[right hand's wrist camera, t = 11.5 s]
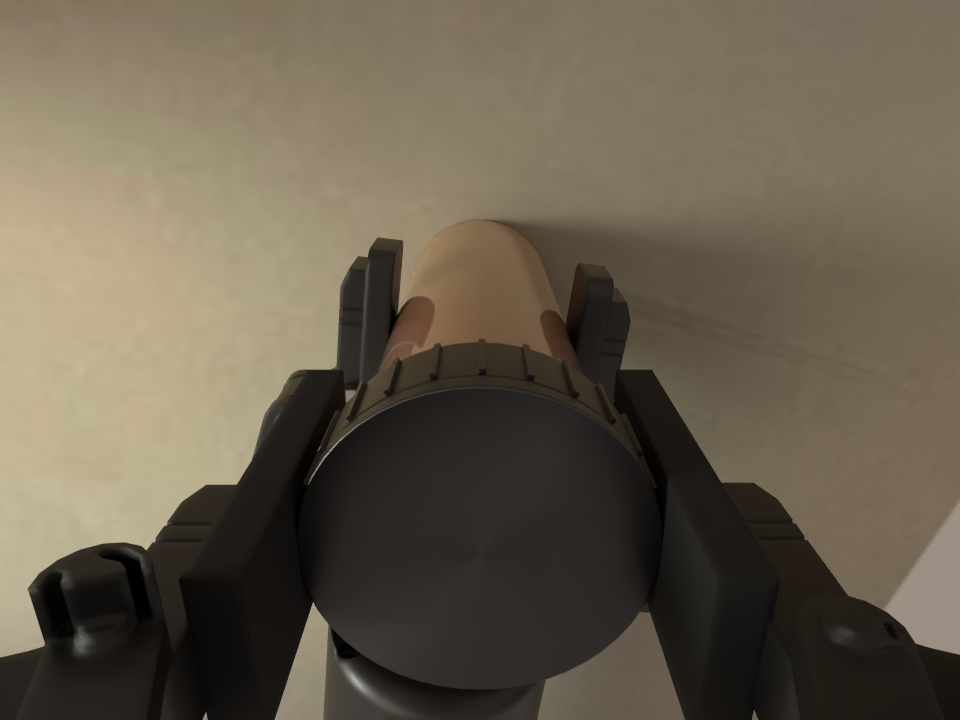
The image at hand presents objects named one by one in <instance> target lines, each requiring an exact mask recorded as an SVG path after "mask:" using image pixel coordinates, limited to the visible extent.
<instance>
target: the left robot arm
mask: <svg viewBox="0 0 960 720" xmlns="http://www.w3.org/2000/svg"><path fill="white" fill-rule="evenodd" d="M402 255H403V241H402V240H394V239H386V238H377V239H376V240H375V242H374V243H373V245H372V246H371V248H370V250H369V254H368V257H360V256H358V257H357V259H356V260H355V262H354V263H353V264H352V266H351V267H350V268H349V270H348V272H347V274H346V276H345V278H344V280H343V282H342V285H341V289H340V309H339V330H338V351H337V367H335V368H333V369H331V370H344V382H345V394H346V404H347V403H348V402H349V400H350V399H351V398H352V397H353V396H354V395H355V393H356V390H357V388H358V385H359V383H360V382H362V381H363V380H364V381H365V382H366V383H367V382H368V381H369V380H371V379H372V378H373V377H374V376H376V373H377V370H378V367H379V365H380V362H381V359H382V356H383V354H384V351H385V348H386V346H387V343H388V340H389V337H390V335H391V332H392V329H393V326H394V324H395V321H396V318H397V316H398V304H399V292H400V280H401V267H402ZM565 326H566V329H567V331H568V334H569V337H570V340H571V342H572V345H573V348H574V350H575V353H576V356H577V359H578V361H579V364H580V367H581V370H582V372H583V375H584V376H585V377H586V378H588V379H589V380H590V381H591V382H592V383H594V384H595V385H597V384H598V383H600V384H601V385H602V386H603V388H604V390H605V392H606V395H607V397H608V399H609V400H610V401H611V402H612V403H613V398H614V389H615V377H616V370H620V367H621V362H622V355H623V353H624V349H625V342H626V340H627V335H628V331H629V326H630V317H629V312H628V306H627V303H626V301H625V300H624V298H623V297H622V295H621V294H620V293H619V291H618V290H617V289H615V288H614V285H613V279H612V277H611V276H610V274H609V273H608V271H607V270H606V269H605V267H604V266H597V265H589V264H581V263H579V264H578V266H577V268H576V272H575V277H574V282H573V288H572V293H571V298H570V304H569V309H568V315H567V320H566V325H565ZM306 372H307V370H299V371H296V372H294V373H293V374H292V375H291V376H290V377H289V379H288V380H287V382H286V383H285V385H284V387H283V391H282V392H281V394H280V395H279V397H278V398H277V400H275V401H274V402H273V403H272V404H271V406H270V407H269V409H268V410H267V412H266V413H265V416H264V419H263V423H262V426H261V430H260V433H259V437H258V441H257V444H256V448H255V451H254V455H253V458H254V456H255V455H256V453H257V451H258V450H259V448H260V447H261V445H262V443H263V442H264V440H265V438H266V437H267V435H268V434H269V432H270V430H271V429H272V427H273V426H274V424H275V422H276V421H277V419H278V417H279V416H280V414H281V413H282V411H283V409H284V408H285V406H286V404H287V403H288V401H289V400H290V398H291V396H292V395H293V393H294V391H295V390H296V388H297V387H298V385H299V383H300V382H301V380H302V379H303V377H304V375H305V374H306ZM253 458H252V460H253ZM640 612H650V611H649V608H648V604H647V601H646V603H645V605H644V607H643V608H642V610H641V611H640ZM544 685H545V680H542V681H538V682H534V683H531V684H527V685H522V686H515V687H509V688H501V689H484V690H479V689H458V688H451V687H444V686H437V685H433V684H429V683H425V682H421V681H417V680H414V679H411V678H408V677H406V676H403V675H400V674H397V673H395V672H393V671H391V670H389V669H387V668H385V667H382V666H380V665H378V664H377V663H375V662H373V661H372V660H370V659H369V658H367V657H365V656H364V655H362V654H361V653H359V652H358V651H357V650H355V649H354V648H353V647H352V646H350V645H349V644H348V643H347V642H345V641H344V640H343V639H342V638H341V637H340V636H339V635H338V634H337V633H336V632H335V631H334V630H333V629H332V628H331V627H330V625H329V627H328V646H327V665H326V683H325V701H324V719H323V720H537V717H538V712H539V708H540V703H541V699H542V694H543V689H544Z"/></svg>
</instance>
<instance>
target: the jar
mask: <svg viewBox="0 0 960 720" xmlns="http://www.w3.org/2000/svg"><path fill="white" fill-rule="evenodd" d="M479 339H485V342H486V343H502V344H508V345H513V346H519V347H522V346H523V344H527V345H529V346H530V350H534V351H537V352H540V353H543V354H546V355H548V356H550V357H552V358H555V359H557V360H559V361H561V362H563V360H564V359H566V360H568V361H570V364H571V367H572V368H573V369H575V370H576V371H578V372H580V373H581V374H583V372H582V370H581V367H580V364H579V361H578V359H577V356H576V353H575V350H574V348H573V345H572V342H571V340H570V337H569V334H568V331H567V329H566V326H565V323H564V321H563V318H562V315H561V312H560V310H559V307H558V304H557V302H556V299H555V296H554V293H553V291H552V288H551V285H550V283H549V280H548V277H547V274H546V272H545V269H544V266H543V264H542V261H541V259H540V257H539V255H538V253H537V251H536V250H535V248H534V247H533V246H532V245H531V243H530V242H529V241H528V240H527V239H526V238H525V237H524V236H522V235H521V234H520V233H518V232H517V231H515V230H514V229H512V228H510V227H508V226H506V225H503V224H500V223H497V222H492V221H483V220H476V221H467V222H463V223H459V224H456V225H453V226H451V227H449V228H447V229H445V230H444V231H442V232H441V233H439V234H438V235H437V236H435V237H434V238H433V239H432V240H431V241H430V242H429V243H428V245H427V246H426V247H425V248H424V250H423V252H422V253H421V255H420V257H419V259H418V261H417V264H416V266H415V269H414V272H413V275H412V277H411V280H410V283H409V285H408V288H407V291H406V294H405V296H404V299H403V302H402V305H401V307H400V310H399V313H398V316H397V318H396V321H395V324H394V326H393V329H392V332H391V335H390V337H389V340H388V343H387V346H386V348H385V351H384V354H383V356H382V359H381V362H380V365H379V367H378V370H377V373H376V375H377V374H379V373H380V372H382V371H383V370H385V369H386V368H388V367H389V366H391V365H392V362H393V360H394V359H396V358H398V357H399V358H400V360H403V359H405V358H407V357H409V356H411V355H414V354H417V353H420V352H423V351H426V350H429V349H432V348H434V344H437V343H441V346H446V345H451V344H459V343H472V342H479Z"/></svg>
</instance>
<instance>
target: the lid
mask: <svg viewBox="0 0 960 720" xmlns="http://www.w3.org/2000/svg"><path fill="white" fill-rule="evenodd" d="M643 455H644V453H643V451H642V449H641V447H640V444H639V442H638V440H637V438H636V435H635V433H634V431H633V429H632V427H631V424H630V422H629V420H628V418H627V416H626V414H625V413H623V414H622V415H620V414H619V412H618V411H617V409H616V408H615V406H614V405H613V403H612V402H611V401H610V400H609V399H608V397H607V395H606V392H605V390H604V388H603V386H602V385H601V384H600V383H598V384H597V385H595V384H594V383H592V382H591V381H590V380H589V379H588V378H586V377H585V376H584V375H583V374H581V373H580V372H578V371H576V370H575V369H573V368H572V367H571V364H570V361H568V360H566V359H564V360H563V362H561V361H559V360H557V359H555V358H552V357H550V356H548V355H546V354H543V353H540V352H537V351H534V350H530V346H529V345H527V344H523V346H522V347H519V346H513V345H508V344H502V343H486V342H485V339H479V342H472V343H459V344H451V345H446V346H441V343H437V344H434V348H432V349H429V350H426V351H423V352H420V353H417V354H414V355H411V356H409V357H407V358H405V359H403V360H400V358H399V357H398V358H396V359H394V360H393V362H392V365H391V366H389V367H388V368H386V369H385V370H383V371H382V372H380V373H379V374H377V375H376V376H374V377H373V378H372V379H371V380H369V381H368V382H367V383H366V382H365V381H364V380H363V381H362V382H360V383H359V385H358V388H357V390H356V393H355V395H354V396H353V397H352V398H351V399H350V400H349V402H348V403H347V404H346V405H345V407H344V408H343V410H342V411H341V412H340V411H338V410H336V412H335V413H334V415H333V418H332V420H331V422H330V424H329V426H328V429H327V431H326V433H325V435H324V438H323V440H322V442H321V444H320V446H319V449H318V451H317V453H316V455H315V458H314V460H313V462H312V464H311V466H310V469H309V471H308V473H307V475H306V478H305V480H304V482H303V485H302V489H305V491H304V493H303V496H302V500H301V503H300V507H299V511H298V515H297V525H296V539H297V548H298V556H299V564H300V571H301V575H302V578H303V580H304V583H305V586H306V588H307V591H308V593H309V595H310V597H311V599H312V600H313V602H314V604H315V606H316V607H317V609H318V611H319V612H320V614H321V615H322V616H323V617H324V619H325V620H326V621H327V623H328V624H329V625H330V627H331V628H332V629H333V630H334V631H335V632H336V633H337V634H338V635H339V636H340V637H341V638H342V639H343V640H344V641H345V642H347V643H348V644H349V645H350V646H352V647H353V648H354V649H355V650H357V651H358V652H359V653H361V654H362V655H364V656H365V657H367V658H369V659H370V660H372V661H373V662H375V663H377V664H378V665H380V666H382V667H385V668H387V669H389V670H391V671H393V672H395V673H397V674H400V675H403V676H406V677H408V678H411V679H414V680H417V681H421V682H425V683H429V684H433V685H437V686H444V687H451V688H458V689H479V690H484V689H501V688H509V687H515V686H522V685H527V684H531V683H534V682H538V681H542V680H546V679H548V678H551V677H554V676H556V675H559V674H562V673H564V672H567V671H569V670H571V669H573V668H575V667H577V666H579V665H581V664H583V663H585V662H586V661H588V660H589V659H591V658H592V657H594V656H595V655H597V654H598V653H600V652H602V651H603V650H604V649H605V648H607V647H608V646H609V645H610V644H611V643H613V642H614V641H615V640H616V639H617V638H618V637H619V636H620V635H621V634H622V633H623V632H624V631H625V630H626V629H627V628H628V627H629V626H630V625H631V624H632V622H633V621H634V619H635V618H636V617H637V615H638V614H639V612H640V611H641V610H642V608H643V607H644V605H645V603H646V601H647V599H648V597H649V595H650V594H651V592H652V590H653V587H654V584H655V581H656V579H657V576H658V573H659V567H660V560H661V552H662V543H663V532H664V528H663V521H662V513H661V508H660V505H659V502H658V498H657V495H656V493H658V492H659V490H658V487H657V484H656V482H655V480H654V478H653V476H652V473H651V471H650V469H649V467H648V464H647V462H646V460H645V458H644V456H643Z"/></svg>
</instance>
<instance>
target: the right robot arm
mask: <svg viewBox="0 0 960 720" xmlns="http://www.w3.org/2000/svg"><path fill="white" fill-rule="evenodd" d="M345 405H346V394H345V382H344V370H307V372H306V374H305V375H304V377H303V379H302V380H301V382H300V383H299V385H298V387H297V388H296V390H295V391H294V393H293V395H292V396H291V398H290V400H289V401H288V403H287V404H286V406H285V408H284V409H283V411H282V413H281V414H280V416H279V417H278V419H277V421H276V422H275V424H274V426H273V427H272V429H271V430H270V432H269V434H268V435H267V437H266V438H265V440H264V442H263V443H262V445H261V447H260V448H259V450H258V451H257V453H256V455H255V456H254V458H253V460H252V461H251V463H250V464H249V466H248V468H247V469H246V471H245V473H244V474H243V476H242V477H241V479H240V481H239V482H238V484H237V485H205V486H204V487H203V488H201V489H200V490H198V491H197V492H195V493H194V494H193V495H191V496H190V497H188V498H187V499H185V500H184V501H183V502H182V503H181V504H180V505H179V507H178V508H177V509H176V511H175V512H174V514H173V515H172V516H171V518H170V519H169V521H168V524H167V526H164V527H163V529H162V530H161V532H160V533H159V534H158V536H157V537H156V541H155V543H152V544H151V545H150V547H149V548H148V549H147V551H146V550H145V549H144V548H143V547H142V546H138V545H134V544H129V543H125V542H124V543H107V544H100V545H96V546H93V547H89V548H85V549H81V550H79V551H76V552H74V553H72V554H70V555H68V556H66V557H63V558H61V559H59V560H57V561H56V562H55V563H53V564H52V565H50V566H49V567H48V568H46V569H45V570H44V571H42V572H41V573H39V575H38V576H37V577H36V579H35V580H34V581H33V582H32V584H31V585H30V586H29V588H28V591H29V594H30V597H31V600H32V603H33V606H34V610H35V613H36V616H37V619H38V622H39V625H40V629H41V632H42V635H43V638H44V641H45V645H44V647H41V648H37V649H34V650H31V651H27V652H23V653H18V654H14V655H10V656H5V657H1V658H0V720H202V719H203V717H204V715H205V713H207V718H208V720H275V717H276V714H277V710H278V707H279V704H280V701H281V698H282V695H283V692H284V689H285V686H286V683H287V680H288V677H289V674H290V671H291V668H292V665H293V661H294V658H295V655H296V652H297V649H298V646H299V643H300V640H301V637H302V634H303V631H304V628H305V625H306V622H307V619H308V616H309V612H310V609H311V606H312V603H313V600H312V599H311V597H310V595H309V593H308V591H307V588H306V586H305V583H304V580H303V578H302V575H301V571H300V564H299V556H298V548H297V539H296V525H297V515H298V511H299V507H300V503H301V500H302V496H303V493H304V491H305V489H302V485H303V482H304V480H305V478H306V475H307V473H308V471H309V469H310V466H311V464H312V462H313V460H314V458H315V455H316V453H317V451H318V449H319V446H320V444H321V442H322V440H323V438H324V435H325V433H326V431H327V429H328V426H329V424H330V422H331V420H332V418H333V415H334V413H335V412H336V410H338V411H340V412H341V411H342V410H343V408H344V407H345ZM613 405H614V406H615V408H616V409H617V411H618V412H619V414H620V415H622V414H623V413H625V414H626V416H627V418H628V420H629V422H630V424H631V427H632V429H633V431H634V433H635V435H636V438H637V440H638V442H639V444H640V447H641V449H642V451H643V453H644V455H643V456H644V458H645V460H646V462H647V464H648V467H649V469H650V471H651V473H652V476H653V478H654V480H655V482H656V484H657V487H658V490H659V492H658V493H656V495H657V498H658V502H659V505H660V508H661V513H662V521H663V528H664V532H663V543H662V552H661V560H660V567H659V573H658V576H657V579H656V581H655V584H654V587H653V590H652V592H651V594H650V595H649V597H648V599H647V604H648V608H649V611H650V614H651V617H652V620H653V623H654V626H655V629H656V632H657V635H658V638H659V641H660V644H661V647H662V650H663V654H664V657H665V660H666V663H667V666H668V669H669V672H670V675H671V678H672V681H673V684H674V687H675V690H676V693H677V696H678V699H679V703H680V706H681V709H682V712H683V715H684V718H685V720H752V716H753V711H754V710H755V712H756V715H757V717H758V719H759V720H960V655H958V654H954V653H949V652H945V651H941V650H936V649H932V648H928V647H925V646H922V645H918V644H915V642H914V641H913V639H912V638H911V636H910V635H909V633H908V632H907V630H906V628H905V627H904V626H903V625H902V624H900V623H899V622H898V621H897V620H896V619H894V618H893V617H892V616H891V615H890V614H888V613H887V612H885V611H883V610H881V609H880V608H878V607H876V606H874V605H872V604H870V603H868V602H866V601H863V600H859V599H856V598H853V597H849V596H848V595H847V594H846V592H845V591H844V590H843V588H842V587H841V585H840V584H839V583H838V581H837V580H836V579H835V577H834V576H833V574H832V573H831V572H830V570H829V569H828V568H827V566H826V565H825V564H824V562H823V561H822V559H821V558H820V557H819V555H818V554H817V553H816V551H815V550H814V548H813V547H812V546H811V544H810V543H809V542H808V540H805V539H804V535H803V533H802V532H801V531H800V529H799V528H798V527H797V525H796V524H793V522H792V518H791V517H790V516H789V514H788V513H787V511H786V510H785V509H784V507H783V506H782V505H781V503H780V502H779V500H778V499H776V498H775V497H773V496H772V495H770V494H769V493H768V492H766V491H765V490H763V489H762V488H760V487H759V486H757V485H756V484H755V483H721V481H720V480H719V478H718V476H717V475H716V473H715V472H714V470H713V468H712V467H711V465H710V464H709V462H708V460H707V459H706V457H705V455H704V454H703V452H702V451H701V449H700V447H699V446H698V444H697V442H696V441H695V439H694V438H693V436H692V434H691V433H690V431H689V429H688V428H687V426H686V425H685V423H684V421H683V420H682V418H681V416H680V415H679V413H678V412H677V410H676V408H675V407H674V405H673V404H672V402H671V400H670V399H669V397H668V395H667V394H666V392H665V391H664V389H663V387H662V386H661V384H660V382H659V381H658V379H657V378H656V376H655V374H654V373H653V371H652V370H616V377H615V389H614V401H613Z"/></svg>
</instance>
